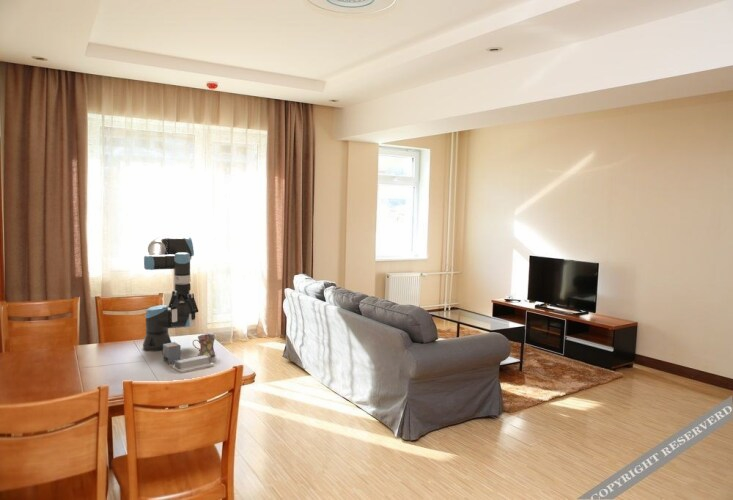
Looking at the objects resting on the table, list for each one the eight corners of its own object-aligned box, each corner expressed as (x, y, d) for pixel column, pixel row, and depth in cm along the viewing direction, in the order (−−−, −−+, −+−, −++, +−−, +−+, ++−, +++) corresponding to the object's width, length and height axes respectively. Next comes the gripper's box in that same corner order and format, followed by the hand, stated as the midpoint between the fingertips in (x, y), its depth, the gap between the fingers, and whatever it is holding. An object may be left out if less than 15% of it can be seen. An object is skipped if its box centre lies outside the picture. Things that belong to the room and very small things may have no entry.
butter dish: (172, 367, 262) (171, 359, 261) (204, 360, 273) (204, 352, 273) (181, 372, 254) (180, 364, 253) (213, 365, 265) (213, 357, 265)
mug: (214, 352, 288) (214, 333, 287) (217, 357, 280) (217, 337, 279) (191, 354, 283) (191, 335, 282) (193, 359, 275) (193, 339, 274)
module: (163, 360, 272) (162, 343, 271) (174, 358, 276) (174, 341, 275) (169, 364, 266) (168, 346, 265) (180, 362, 270) (180, 344, 269)
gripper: (160, 281, 270) (161, 321, 272) (193, 287, 257) (193, 329, 259) (172, 279, 276) (173, 318, 279) (205, 284, 263) (205, 325, 266)
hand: (183, 323), depth 269 cm, fingers open, 13 cm apart
